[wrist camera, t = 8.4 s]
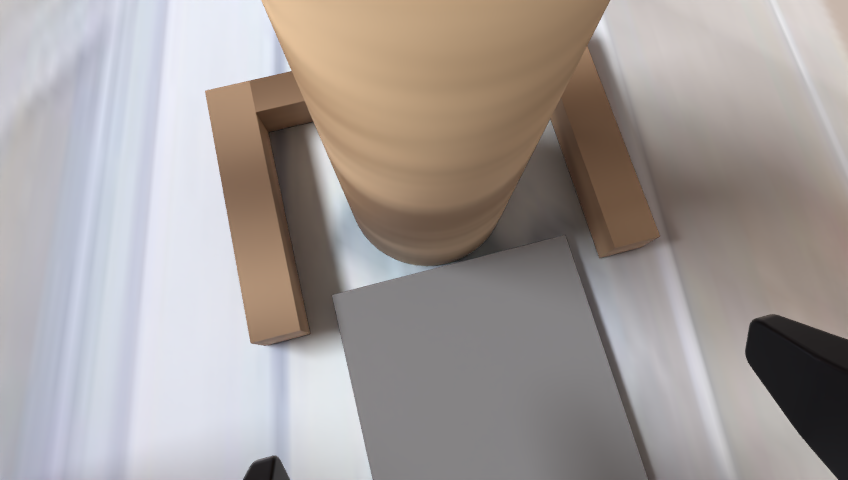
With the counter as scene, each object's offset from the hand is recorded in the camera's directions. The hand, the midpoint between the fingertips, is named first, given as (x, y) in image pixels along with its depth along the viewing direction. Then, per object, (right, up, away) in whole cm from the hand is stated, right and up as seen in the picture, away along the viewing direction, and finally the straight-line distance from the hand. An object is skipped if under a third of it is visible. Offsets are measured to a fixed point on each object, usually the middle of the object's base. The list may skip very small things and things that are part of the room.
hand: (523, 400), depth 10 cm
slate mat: (0, -3, +7) cm, 8 cm away
